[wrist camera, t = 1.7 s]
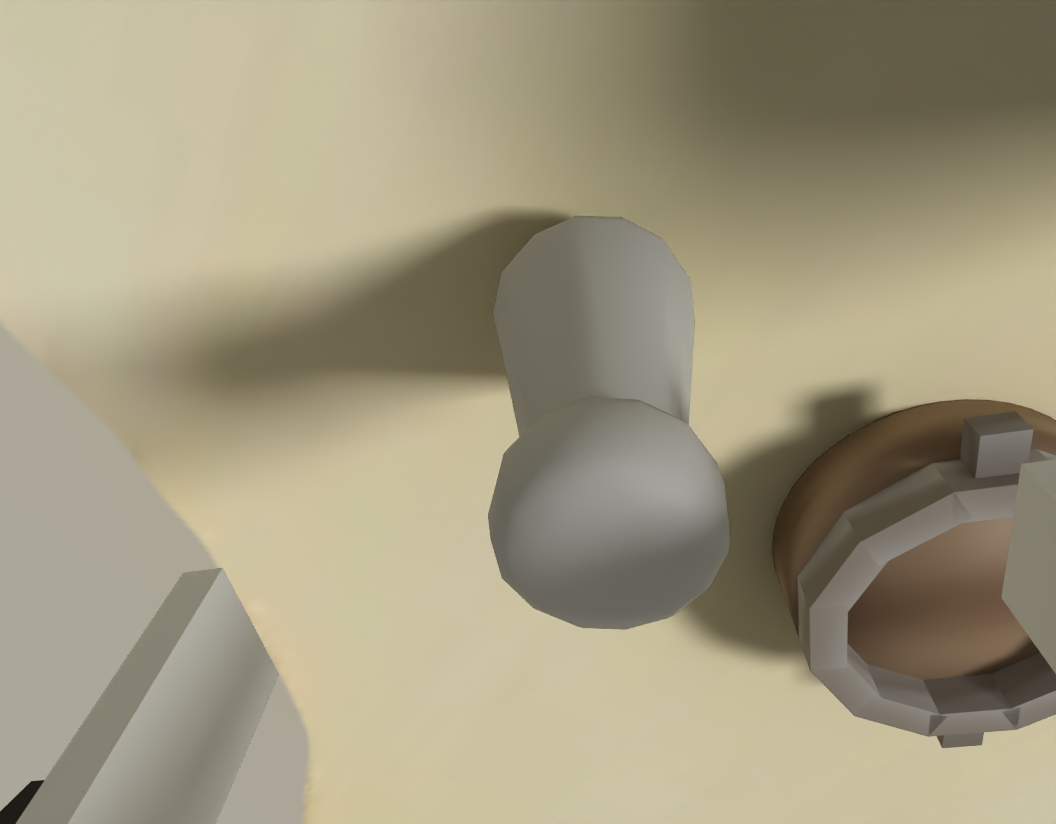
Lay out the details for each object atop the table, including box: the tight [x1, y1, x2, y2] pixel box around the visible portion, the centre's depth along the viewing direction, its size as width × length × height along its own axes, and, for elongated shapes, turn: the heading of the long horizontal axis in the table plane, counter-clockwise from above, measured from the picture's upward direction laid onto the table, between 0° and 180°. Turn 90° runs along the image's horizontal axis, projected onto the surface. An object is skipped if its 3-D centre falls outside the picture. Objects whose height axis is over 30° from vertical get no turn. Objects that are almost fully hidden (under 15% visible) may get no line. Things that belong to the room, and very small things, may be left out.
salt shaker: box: [488, 216, 730, 629], centre depth 18 cm, size 6×6×13 cm
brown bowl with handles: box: [773, 400, 1056, 748], centre depth 26 cm, size 14×12×4 cm
